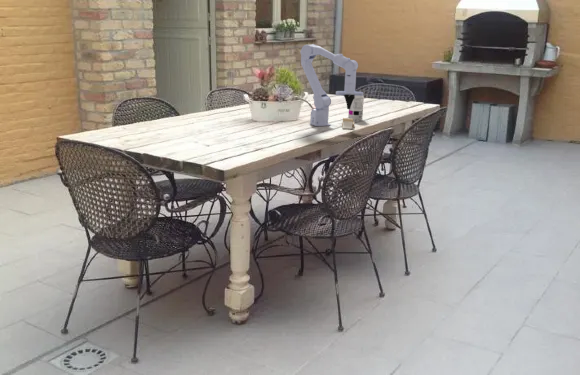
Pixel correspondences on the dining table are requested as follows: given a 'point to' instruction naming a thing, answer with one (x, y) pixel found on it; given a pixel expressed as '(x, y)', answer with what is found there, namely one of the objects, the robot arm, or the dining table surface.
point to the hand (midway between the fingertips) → (348, 108)
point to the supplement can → (356, 108)
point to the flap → (347, 123)
